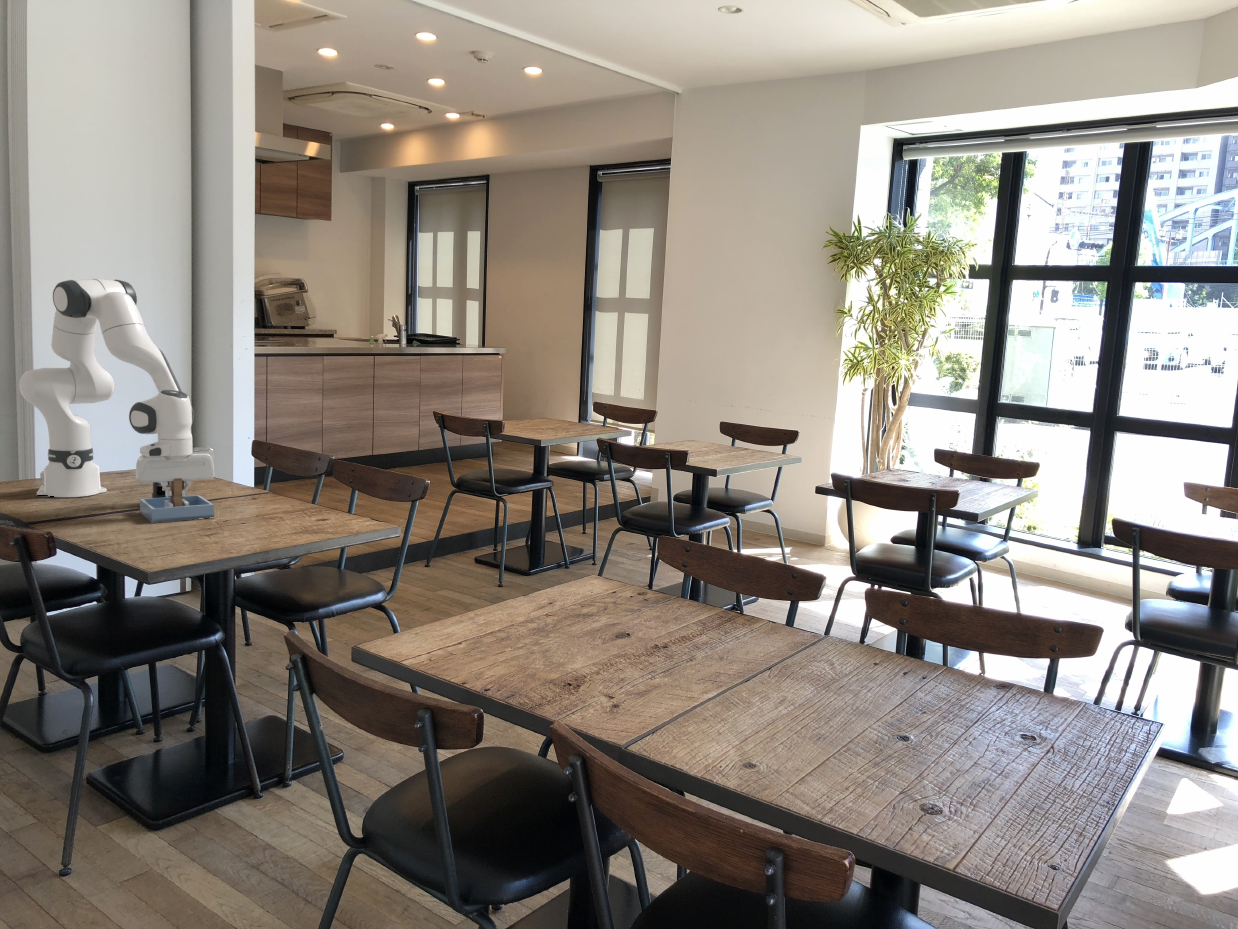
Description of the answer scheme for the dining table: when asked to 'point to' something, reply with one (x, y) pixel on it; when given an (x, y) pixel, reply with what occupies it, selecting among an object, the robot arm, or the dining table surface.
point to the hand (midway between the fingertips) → (176, 496)
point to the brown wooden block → (176, 492)
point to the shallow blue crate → (176, 509)
